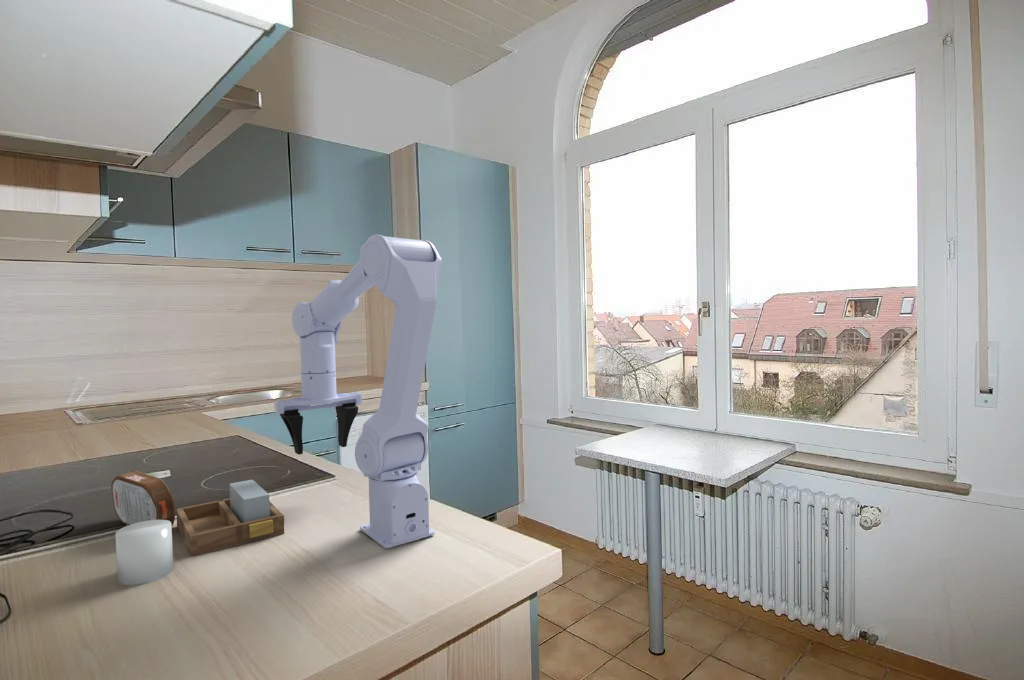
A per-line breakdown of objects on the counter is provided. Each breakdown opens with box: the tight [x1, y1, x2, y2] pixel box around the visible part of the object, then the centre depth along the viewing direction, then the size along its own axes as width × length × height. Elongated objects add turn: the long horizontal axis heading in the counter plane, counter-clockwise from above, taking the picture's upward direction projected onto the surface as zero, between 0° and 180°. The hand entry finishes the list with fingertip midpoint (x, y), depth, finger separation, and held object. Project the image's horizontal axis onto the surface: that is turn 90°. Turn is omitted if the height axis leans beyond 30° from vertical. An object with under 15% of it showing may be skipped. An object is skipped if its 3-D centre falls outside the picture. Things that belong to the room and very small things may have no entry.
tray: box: [175, 497, 285, 557], centre depth 86 cm, size 15×12×3 cm
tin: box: [110, 470, 176, 527], centre depth 87 cm, size 15×3×8 cm, turn 58°
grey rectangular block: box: [228, 479, 270, 523], centre depth 88 cm, size 10×4×5 cm, turn 38°
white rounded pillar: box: [115, 520, 175, 586], centre depth 72 cm, size 6×6×6 cm
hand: (321, 449), depth 97 cm, fingers open, 7 cm apart
